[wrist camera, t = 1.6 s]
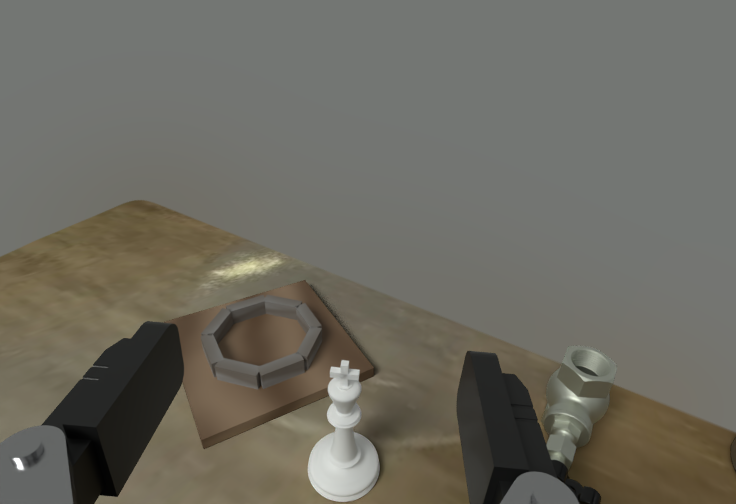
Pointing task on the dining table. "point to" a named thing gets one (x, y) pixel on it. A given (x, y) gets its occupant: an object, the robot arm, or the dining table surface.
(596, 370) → the valve
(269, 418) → the board
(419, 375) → the dining table surface
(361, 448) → the chess piece
